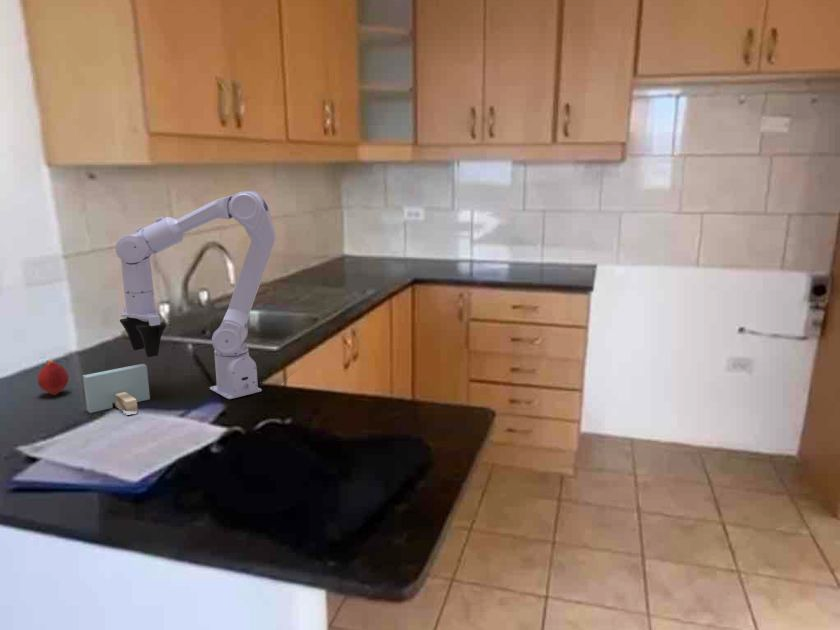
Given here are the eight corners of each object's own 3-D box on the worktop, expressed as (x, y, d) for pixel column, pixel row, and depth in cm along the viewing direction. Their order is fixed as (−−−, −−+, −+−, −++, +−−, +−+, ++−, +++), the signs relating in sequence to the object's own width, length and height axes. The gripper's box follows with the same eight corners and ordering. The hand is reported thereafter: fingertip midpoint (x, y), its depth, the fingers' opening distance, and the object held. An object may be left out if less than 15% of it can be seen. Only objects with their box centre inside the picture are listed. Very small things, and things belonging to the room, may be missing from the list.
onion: (63, 388, 144) (59, 354, 143) (74, 394, 141) (70, 359, 139) (35, 395, 140) (30, 360, 138) (46, 401, 136) (41, 365, 135)
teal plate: (149, 399, 138) (146, 365, 136) (89, 413, 130) (85, 377, 128) (146, 396, 139) (143, 363, 137) (86, 410, 131) (82, 375, 129)
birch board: (137, 413, 129) (136, 399, 129) (127, 416, 128) (126, 402, 127) (110, 394, 141) (109, 381, 140) (101, 396, 139) (99, 383, 139)
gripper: (107, 289, 139) (114, 349, 142) (132, 298, 128) (139, 363, 131) (140, 285, 143) (146, 343, 146) (167, 293, 133) (173, 356, 136)
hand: (145, 352), depth 139 cm, fingers open, 7 cm apart
